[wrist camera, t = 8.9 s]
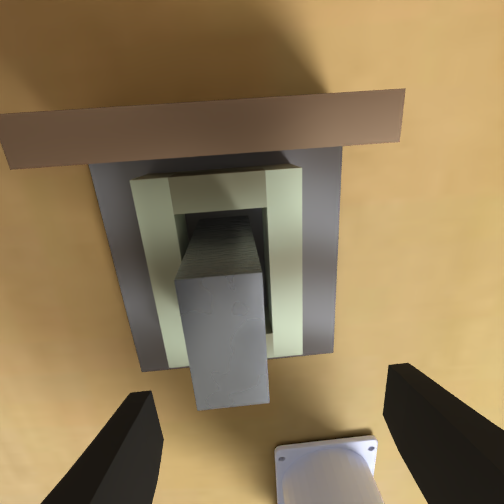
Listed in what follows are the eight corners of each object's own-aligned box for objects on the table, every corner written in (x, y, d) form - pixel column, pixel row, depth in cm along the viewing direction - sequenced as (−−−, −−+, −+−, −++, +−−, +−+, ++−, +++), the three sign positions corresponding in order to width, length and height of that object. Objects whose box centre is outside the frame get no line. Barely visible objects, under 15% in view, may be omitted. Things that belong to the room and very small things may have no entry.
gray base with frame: (328, 342, 19) (368, 424, 14) (146, 360, 19) (110, 453, 13) (336, 109, 14) (405, 88, 9) (88, 126, 14) (-10, 114, 8)
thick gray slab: (254, 300, 17) (269, 402, 10) (210, 304, 16) (197, 410, 10) (248, 215, 15) (262, 272, 8) (199, 219, 15) (173, 280, 8)
